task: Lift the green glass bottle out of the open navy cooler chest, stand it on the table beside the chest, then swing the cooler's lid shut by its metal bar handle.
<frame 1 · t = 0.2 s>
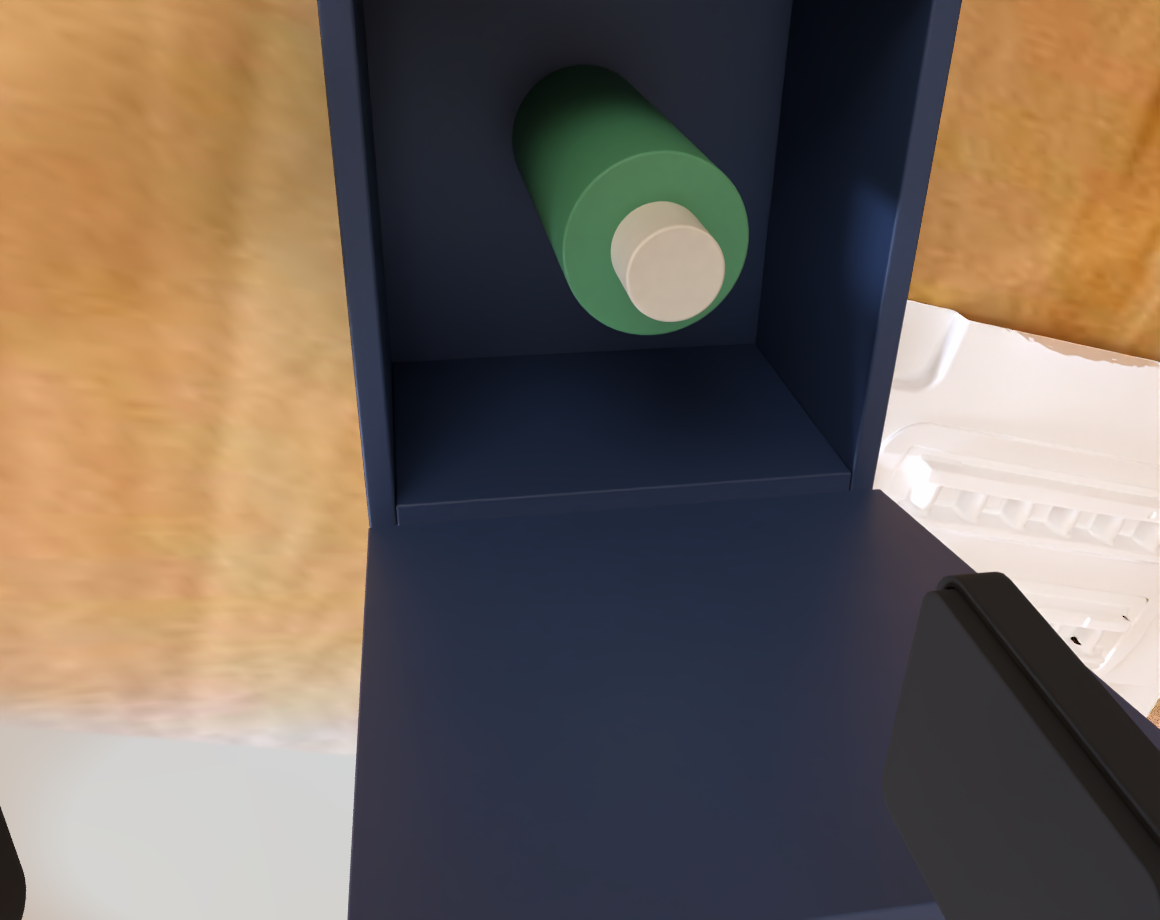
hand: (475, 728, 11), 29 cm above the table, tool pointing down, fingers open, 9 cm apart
bottle: (581, 137, 36), point 1 cm above the table, touching cooler
tray: (1006, 538, 50), on the table
cooler: (577, 161, 37), on the table
cooler lid: (706, 738, 25), point 20 cm above the table, hinge at 80.0°
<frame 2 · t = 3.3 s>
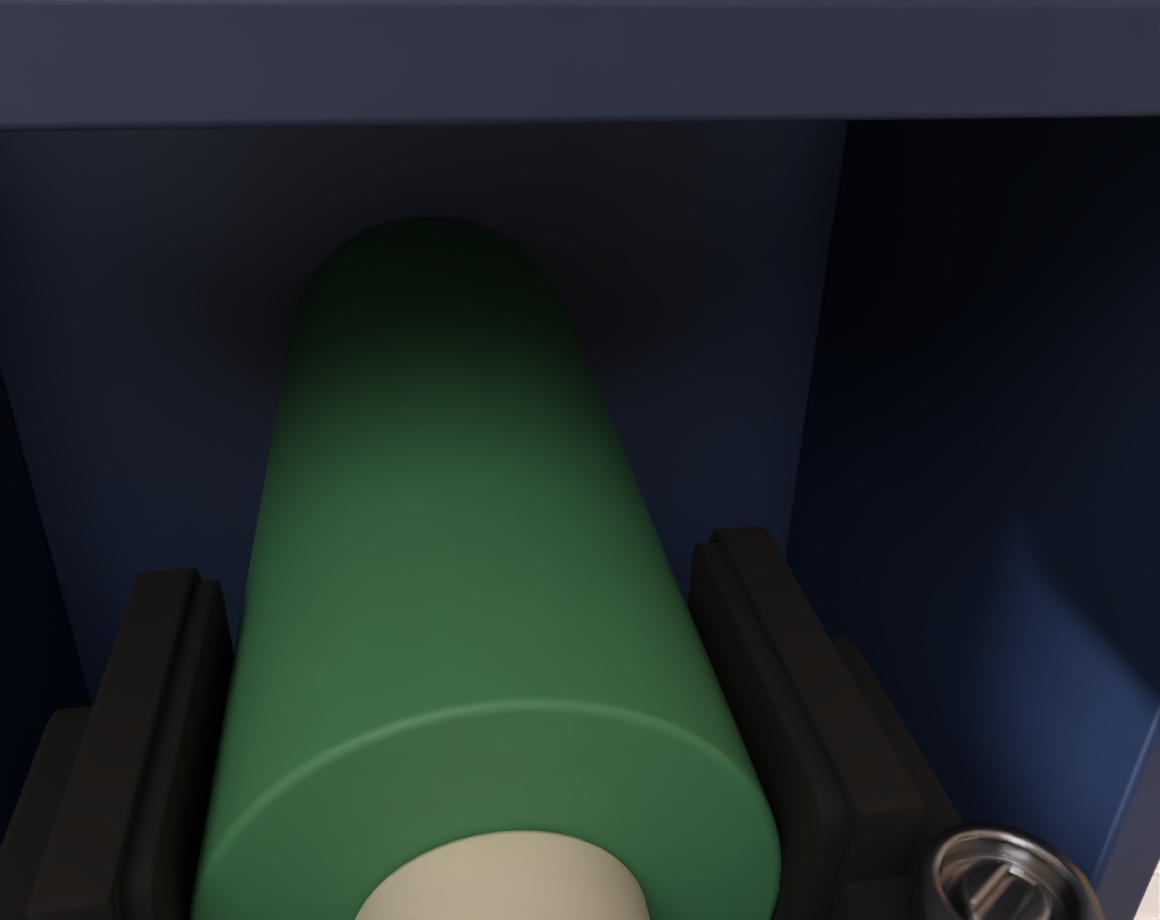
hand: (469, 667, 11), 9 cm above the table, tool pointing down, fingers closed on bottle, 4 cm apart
bottle: (433, 351, 18), point 1 cm above the table, touching cooler, gripper
tray: (1154, 891, 32), on the table
cooler: (433, 383, 20), on the table
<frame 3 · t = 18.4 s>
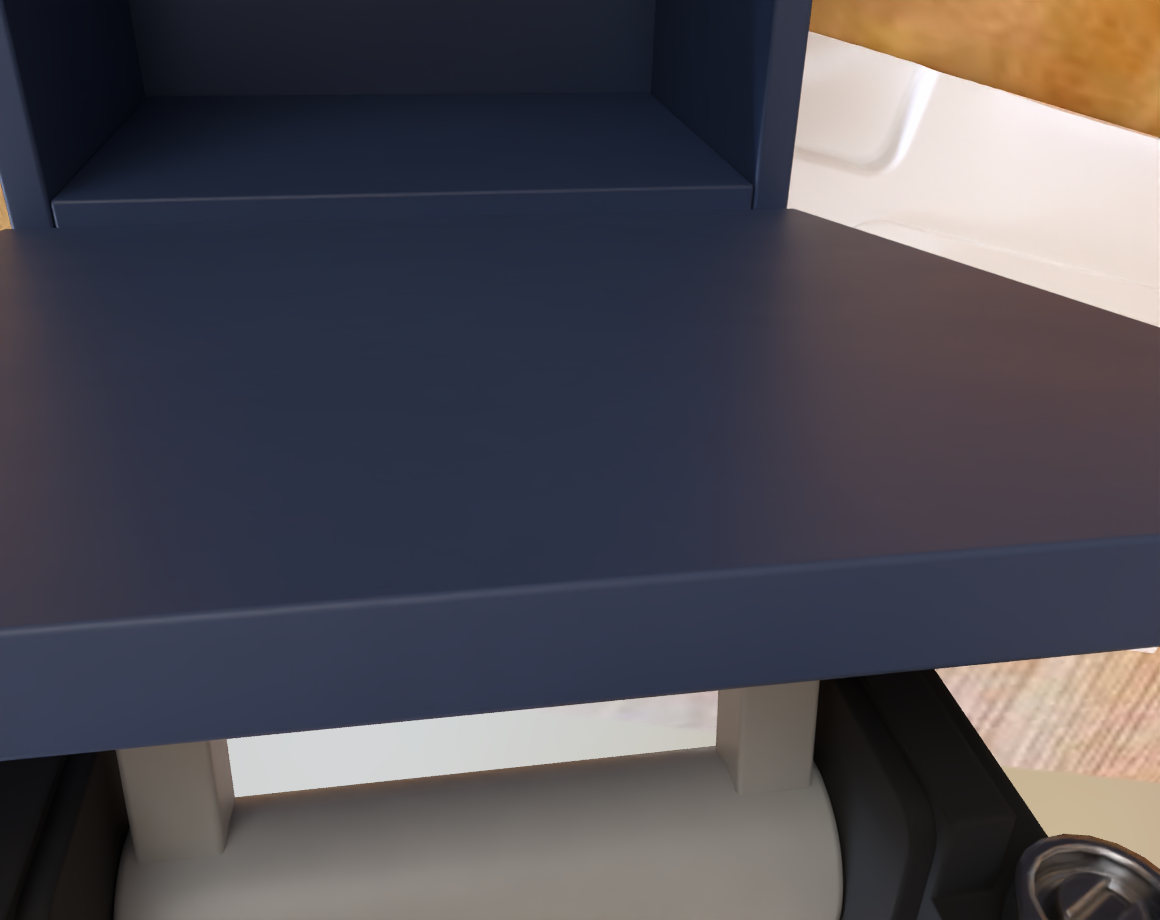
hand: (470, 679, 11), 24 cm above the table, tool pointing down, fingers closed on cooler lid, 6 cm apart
tray: (989, 397, 39), on the table
cooler lid: (448, 481, 14), point 20 cm above the table, hinge at 80.0°, touching gripper
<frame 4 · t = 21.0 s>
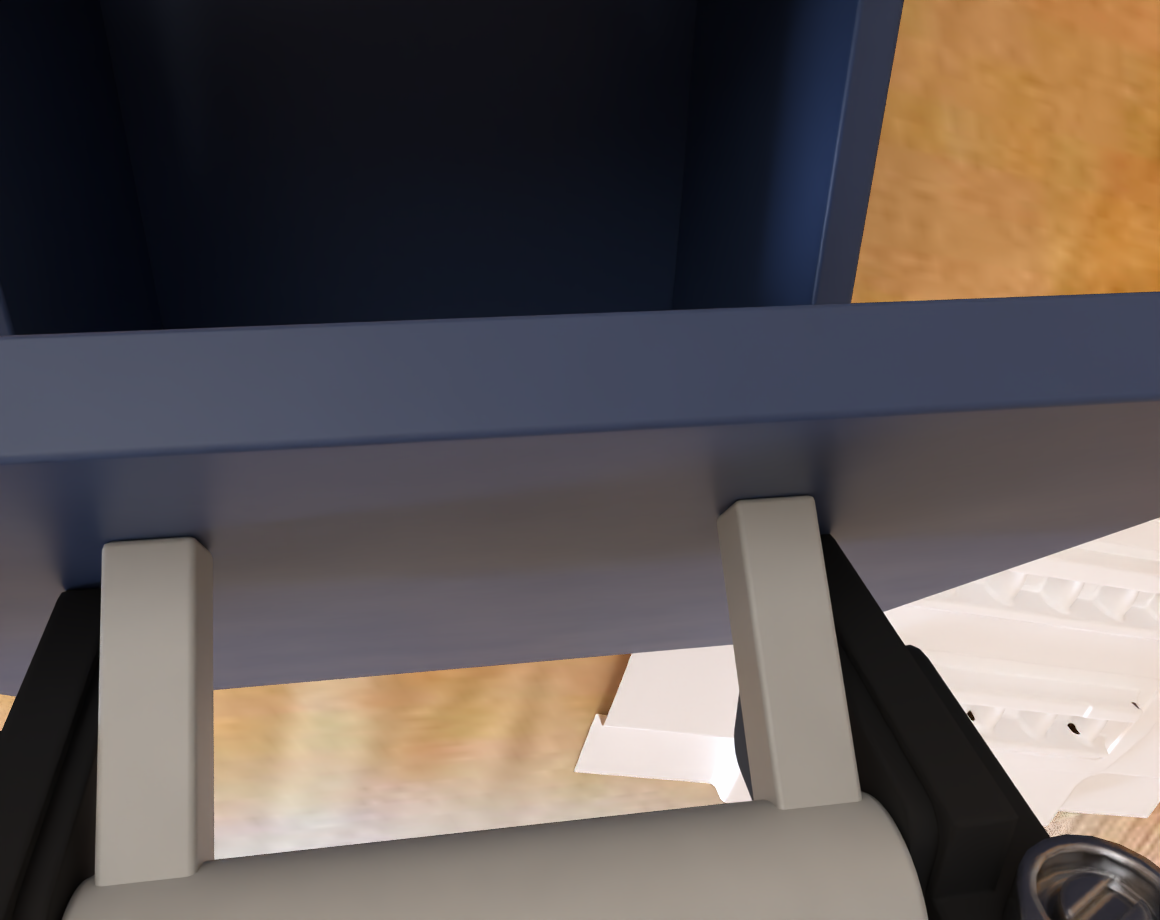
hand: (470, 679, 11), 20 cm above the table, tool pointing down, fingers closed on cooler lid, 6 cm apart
tray: (991, 609, 40), on the table
cooler: (416, 133, 28), on the table
cooler lid: (469, 746, 14), point 18 cm above the table, hinge at 42.5°, touching gripper
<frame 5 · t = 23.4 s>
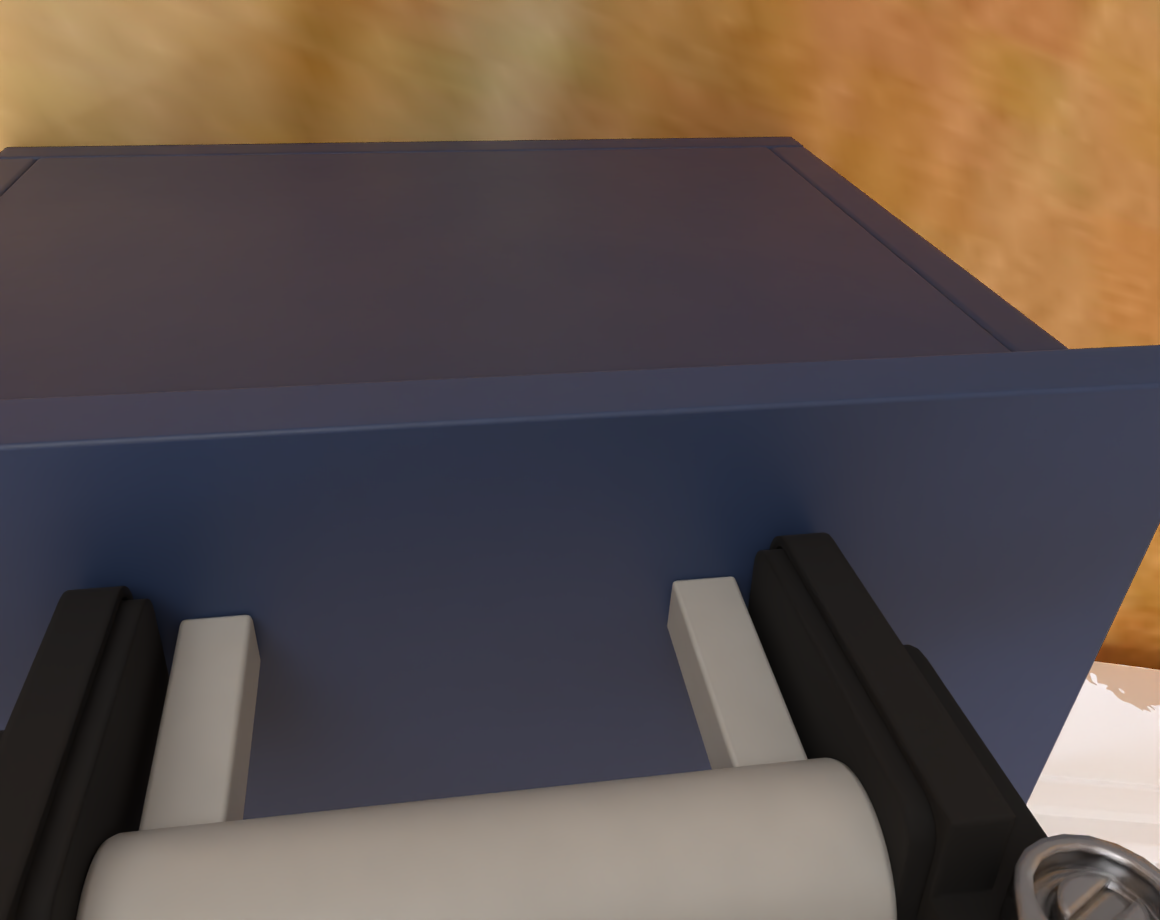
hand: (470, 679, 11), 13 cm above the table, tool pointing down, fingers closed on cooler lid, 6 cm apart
tray: (1044, 869, 38), on the table
cooler: (436, 472, 25), on the table
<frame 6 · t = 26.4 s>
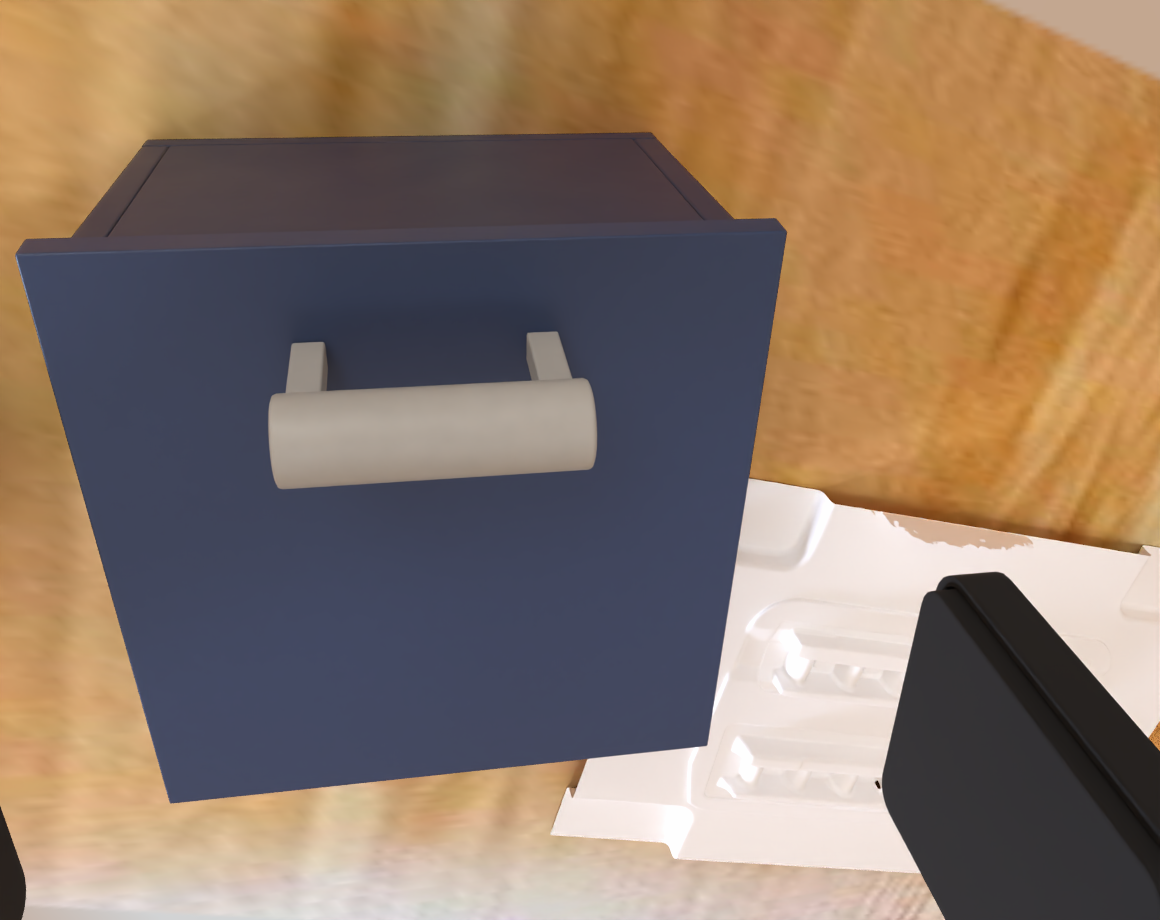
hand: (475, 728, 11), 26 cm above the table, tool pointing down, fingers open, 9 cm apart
tray: (890, 697, 49), on the table
cooler: (420, 363, 37), on the table
cooler lid: (442, 601, 25), point 14 cm above the table, hinge at 4.6°
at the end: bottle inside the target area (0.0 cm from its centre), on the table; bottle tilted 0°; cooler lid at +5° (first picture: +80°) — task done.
